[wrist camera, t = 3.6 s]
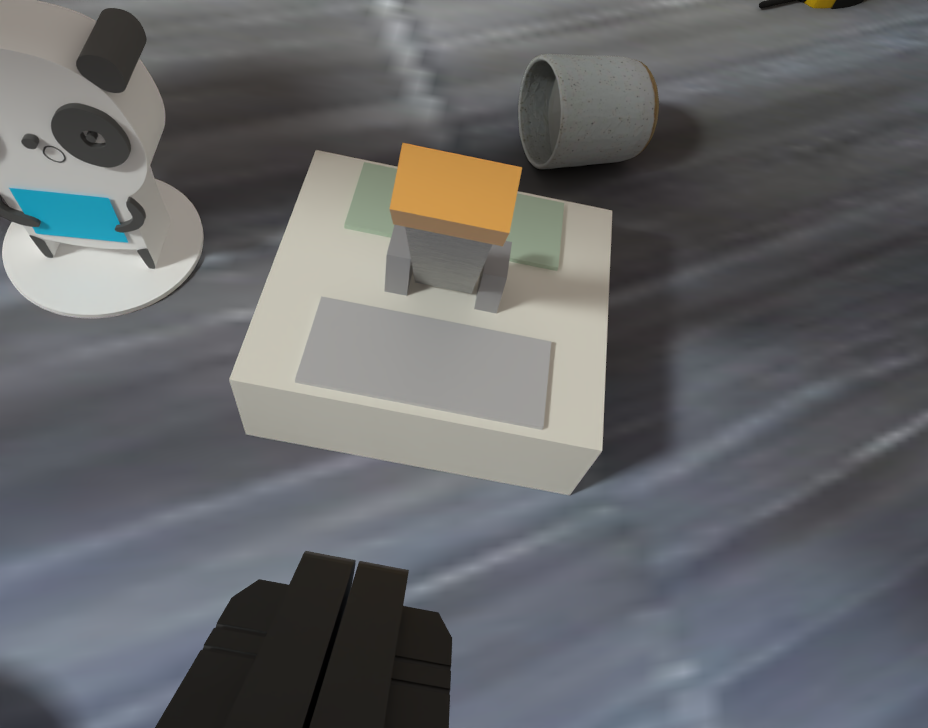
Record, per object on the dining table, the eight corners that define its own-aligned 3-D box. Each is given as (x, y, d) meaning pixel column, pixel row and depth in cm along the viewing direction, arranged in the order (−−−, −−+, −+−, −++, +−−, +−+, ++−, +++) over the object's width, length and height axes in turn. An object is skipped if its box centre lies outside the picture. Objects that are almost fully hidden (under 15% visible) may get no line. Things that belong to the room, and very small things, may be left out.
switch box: (569, 495, 39) (622, 423, 31) (245, 434, 38) (218, 345, 30) (584, 272, 47) (628, 173, 39) (320, 219, 46) (313, 108, 39)
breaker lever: (475, 300, 37) (509, 233, 21) (409, 286, 37) (389, 209, 21) (482, 263, 37) (522, 167, 21) (416, 250, 37) (402, 142, 21)
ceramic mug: (641, 180, 53) (681, 92, 46) (541, 192, 51) (568, 103, 44) (589, 89, 58) (618, 0, 51) (496, 97, 56) (514, 5, 49)
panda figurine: (-39, 306, 40) (-224, 78, 27) (32, 165, 46) (-93, -76, 33) (179, 327, 41) (100, 119, 28) (220, 187, 47) (170, -37, 34)
